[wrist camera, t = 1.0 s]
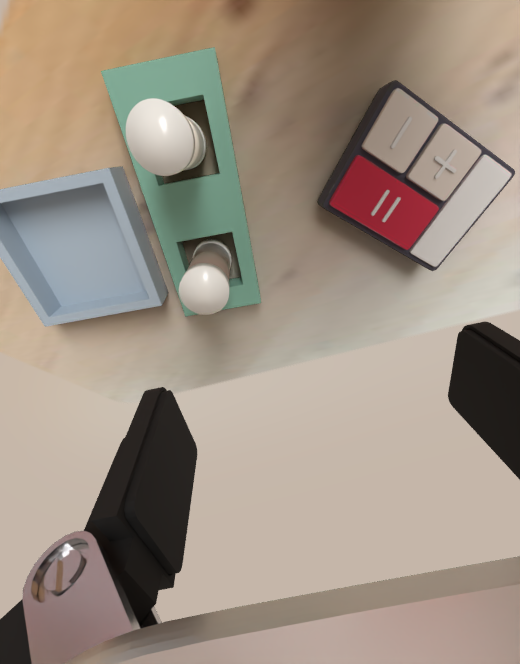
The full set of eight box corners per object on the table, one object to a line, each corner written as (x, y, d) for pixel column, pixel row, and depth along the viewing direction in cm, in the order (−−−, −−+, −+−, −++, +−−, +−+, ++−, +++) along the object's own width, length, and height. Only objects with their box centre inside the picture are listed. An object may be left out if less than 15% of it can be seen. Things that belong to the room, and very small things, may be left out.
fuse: (154, 121, 26) (114, 105, 18) (199, 112, 26) (181, 92, 18) (169, 173, 29) (140, 181, 20) (211, 165, 29) (199, 169, 20)
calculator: (397, 74, 23) (524, 171, 27) (377, 86, 27) (491, 170, 31) (322, 207, 28) (438, 275, 32) (314, 202, 32) (419, 263, 35)
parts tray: (-10, 192, 29) (-39, 197, 26) (122, 166, 28) (108, 167, 25) (61, 312, 36) (44, 326, 33) (168, 292, 35) (161, 305, 32)
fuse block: (112, 78, 25) (100, 71, 23) (216, 56, 24) (214, 47, 22) (188, 306, 36) (185, 316, 34) (260, 294, 36) (261, 302, 34)
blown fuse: (189, 242, 32) (172, 273, 24) (227, 235, 32) (222, 264, 24) (200, 277, 34) (187, 318, 26) (235, 271, 34) (233, 310, 26)
